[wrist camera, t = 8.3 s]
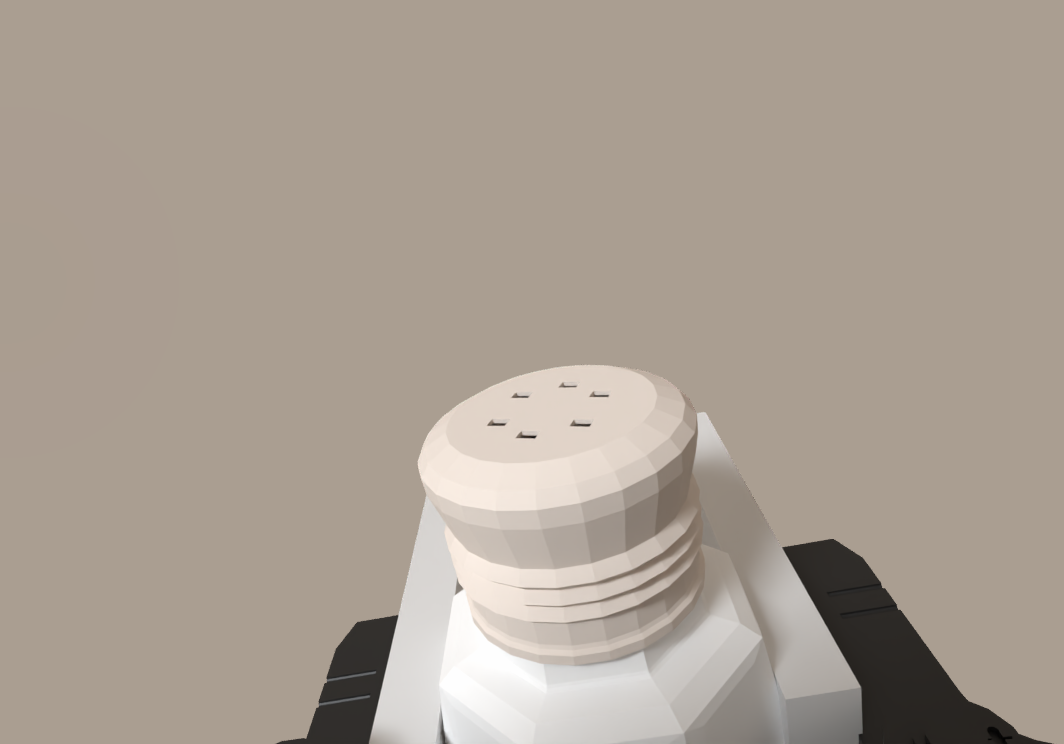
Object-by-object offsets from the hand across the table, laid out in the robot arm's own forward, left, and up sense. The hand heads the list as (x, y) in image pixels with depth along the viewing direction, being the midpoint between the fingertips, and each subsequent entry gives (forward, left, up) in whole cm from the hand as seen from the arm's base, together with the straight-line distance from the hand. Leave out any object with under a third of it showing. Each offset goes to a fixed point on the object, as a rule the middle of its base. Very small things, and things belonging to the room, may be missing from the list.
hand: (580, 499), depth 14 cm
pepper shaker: (-5, +3, -7) cm, 9 cm away
